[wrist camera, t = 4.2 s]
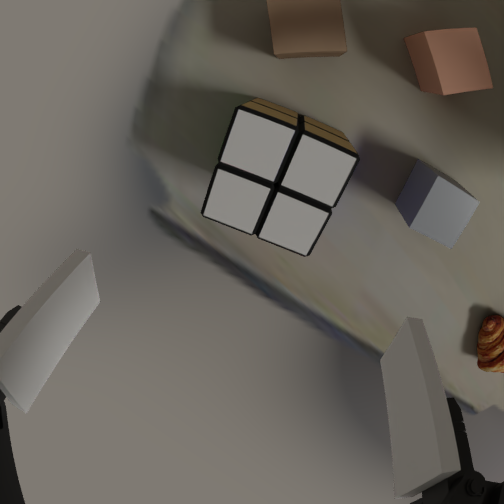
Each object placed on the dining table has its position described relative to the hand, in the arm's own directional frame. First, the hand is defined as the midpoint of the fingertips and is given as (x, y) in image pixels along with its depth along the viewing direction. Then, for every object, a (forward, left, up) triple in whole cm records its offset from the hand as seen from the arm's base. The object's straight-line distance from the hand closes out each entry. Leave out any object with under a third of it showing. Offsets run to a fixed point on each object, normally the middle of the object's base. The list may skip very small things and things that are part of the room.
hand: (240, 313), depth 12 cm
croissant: (+21, +45, -24) cm, 55 cm away
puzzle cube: (0, 0, -24) cm, 24 cm away
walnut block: (-14, 0, -24) cm, 28 cm away
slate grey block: (0, +17, -24) cm, 30 cm away
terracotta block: (-15, +14, -24) cm, 32 cm away
